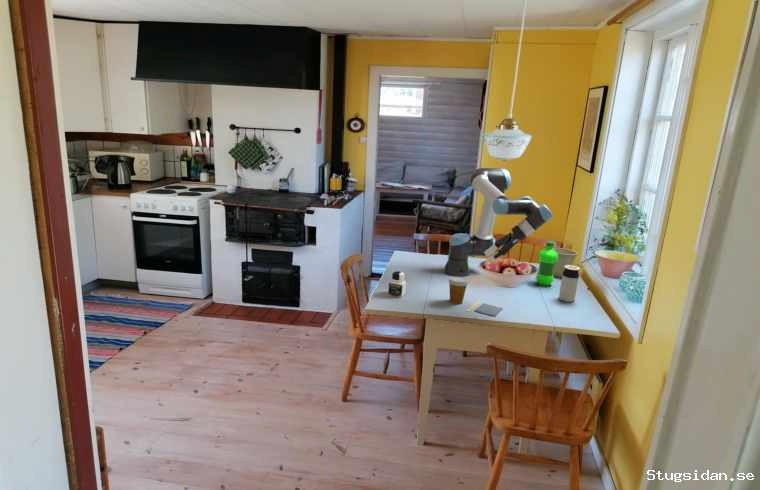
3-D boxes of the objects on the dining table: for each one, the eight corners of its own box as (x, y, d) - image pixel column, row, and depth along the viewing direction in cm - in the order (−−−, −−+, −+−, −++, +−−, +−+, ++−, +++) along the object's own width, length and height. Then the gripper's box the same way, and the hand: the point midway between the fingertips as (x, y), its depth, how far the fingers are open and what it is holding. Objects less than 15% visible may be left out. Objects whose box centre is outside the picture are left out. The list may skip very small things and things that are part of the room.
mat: (474, 311, 231) (474, 310, 231) (483, 304, 241) (483, 303, 241) (494, 316, 226) (494, 315, 226) (502, 309, 236) (502, 308, 236)
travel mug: (574, 303, 251) (580, 270, 246) (558, 300, 253) (564, 268, 249) (574, 298, 258) (580, 266, 254) (558, 295, 261) (563, 264, 256)
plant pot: (556, 280, 288) (560, 254, 284) (542, 272, 302) (546, 247, 298) (577, 279, 292) (582, 254, 287) (563, 272, 305) (567, 247, 301)
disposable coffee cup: (466, 299, 246) (468, 277, 243) (465, 306, 237) (468, 283, 234) (447, 297, 247) (449, 275, 244) (445, 303, 238) (448, 280, 235)
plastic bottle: (557, 286, 276) (564, 244, 270) (541, 287, 272) (548, 245, 266) (545, 281, 285) (552, 240, 279) (530, 281, 281) (537, 240, 275)
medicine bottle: (387, 295, 245) (389, 273, 242) (392, 291, 251) (394, 269, 248) (401, 298, 242) (403, 275, 239) (405, 293, 249) (407, 271, 246)
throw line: (466, 311, 230) (466, 311, 230) (477, 302, 244) (477, 301, 243) (468, 312, 230) (468, 311, 230) (480, 302, 243) (480, 302, 243)
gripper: (532, 242, 219) (495, 270, 224) (522, 231, 243) (489, 257, 248) (522, 229, 218) (484, 258, 223) (513, 219, 242) (479, 246, 247)
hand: (486, 258), depth 235 cm, fingers open, 13 cm apart
